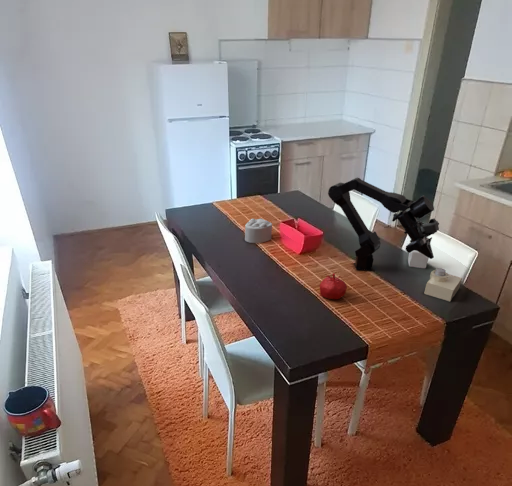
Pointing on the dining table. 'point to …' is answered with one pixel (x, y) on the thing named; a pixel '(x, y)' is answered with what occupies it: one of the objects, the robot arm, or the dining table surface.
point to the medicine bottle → (417, 259)
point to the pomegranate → (332, 287)
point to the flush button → (440, 272)
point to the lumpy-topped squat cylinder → (258, 231)
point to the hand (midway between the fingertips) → (432, 258)
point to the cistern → (442, 286)
